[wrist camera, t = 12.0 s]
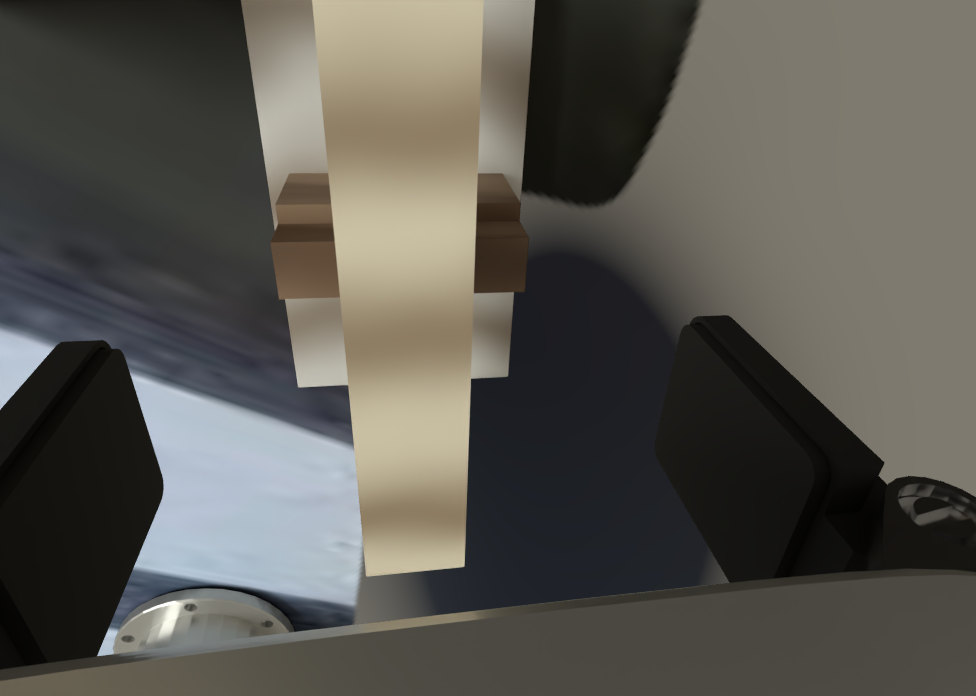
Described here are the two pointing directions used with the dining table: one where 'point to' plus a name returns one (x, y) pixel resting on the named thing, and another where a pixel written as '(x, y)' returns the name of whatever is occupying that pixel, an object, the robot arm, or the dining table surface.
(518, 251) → the stand
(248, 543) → the dining table surface
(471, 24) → the beige wooden bar
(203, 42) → the dining table surface
